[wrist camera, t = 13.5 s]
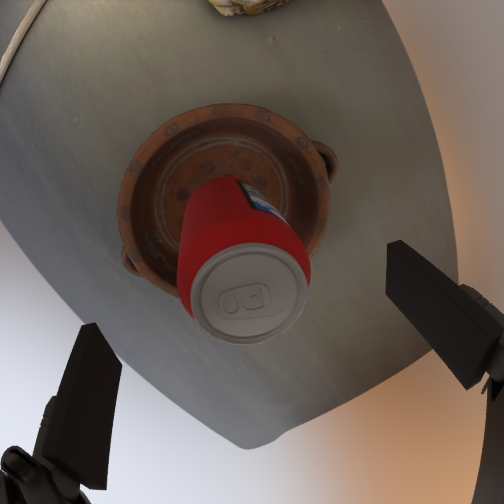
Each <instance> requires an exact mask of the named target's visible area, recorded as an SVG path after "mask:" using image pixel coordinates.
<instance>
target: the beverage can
mask: <svg viewBox="0 0 504 504" xmlns="http://www.w3.org/2000/svg"><path fill="white" fill-rule="evenodd" d="M310 274H311V271H310V261H309V257H308V254H307V251H306V249H305V247H304V246H303V244H302V242H301V241H300V240H299V238H298V237H297V236H296V234H295V233H294V232H293V230H292V229H291V227H290V226H289V225H288V223H287V222H286V221H285V220H284V218H283V217H282V216H281V214H280V213H279V212H278V211H277V209H276V208H275V207H274V206H273V204H272V203H271V202H270V201H269V200H268V198H267V197H266V196H265V195H264V194H263V193H262V191H261V190H260V189H259V188H258V187H257V186H255V185H254V184H253V183H251V182H249V181H247V180H245V179H242V178H238V177H231V176H226V177H219V178H215V179H212V180H210V181H208V182H206V183H204V184H203V185H201V186H200V187H199V188H198V189H197V190H196V191H195V192H194V193H193V194H192V196H191V197H190V199H189V201H188V203H187V205H186V209H185V213H184V219H183V225H182V232H181V239H180V248H179V257H178V268H177V289H178V294H179V297H180V299H181V302H182V304H183V306H184V307H185V309H186V310H187V312H188V313H189V314H190V315H191V316H192V318H193V319H195V320H196V322H197V323H198V325H199V326H200V327H201V329H202V330H203V331H204V332H206V333H207V334H208V335H209V336H211V337H213V338H214V339H216V340H218V341H221V342H224V343H227V344H231V345H240V346H247V345H256V344H260V343H264V342H267V341H270V340H272V339H274V338H276V337H278V336H280V335H282V334H283V333H284V332H286V331H287V330H288V329H290V328H291V327H292V326H293V325H294V324H295V322H296V321H297V320H298V319H299V317H300V316H301V314H302V312H303V310H304V308H305V305H306V302H307V297H308V287H309V283H310Z"/></svg>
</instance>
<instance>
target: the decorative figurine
mask: <svg viewBox="0 0 504 504" xmlns="http://www.w3.org/2000/svg"><path fill="white" fill-rule="evenodd" d="M208 1H209V2H210V3H211V4H213V5H214V7H215V8H216V9H217V10H218V11H219V12H220V13H221V14H222V15H224V16H229V15H231V16H234V15H235V14H236V13H237V14H239V15H241V14H244V13H246V14H248V15H254V14H258V13H262V12H265V11H268V10H271V9H273V8H276V7H278V6H281V5H283V4H285V3H287V2H288V1H289V0H208Z"/></svg>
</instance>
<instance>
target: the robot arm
mask: <svg viewBox="0 0 504 504" xmlns="http://www.w3.org/2000/svg"><path fill="white" fill-rule="evenodd" d="M385 294H386V295H387V296H388V297H389V298H390V300H391V301H392V302H393V303H394V304H395V305H396V306H397V307H398V308H399V310H400V311H401V312H402V313H403V314H404V315H405V316H406V318H407V319H408V320H409V321H410V322H411V323H412V324H413V326H414V327H415V328H416V329H417V330H418V331H419V333H420V334H421V335H422V336H423V337H424V339H425V340H426V341H427V342H428V343H429V344H430V346H431V347H432V348H433V349H434V350H435V352H436V353H437V354H438V355H439V357H440V358H441V359H442V360H443V361H444V363H445V364H446V365H447V366H448V368H449V369H450V370H451V371H452V372H453V374H454V375H455V377H456V378H457V379H458V380H459V382H460V383H461V384H462V385H463V387H464V388H465V389H466V390H468V389H470V388H471V387H473V386H474V385H475V384H477V383H478V382H480V381H481V379H482V377H483V375H484V373H485V371H486V372H487V373H488V374H489V375H490V376H489V378H488V380H487V382H486V384H485V385H484V387H483V389H482V392H481V394H484V392H485V391H486V389H488V390H487V410H486V423H485V432H484V441H483V448H482V455H481V461H480V467H479V472H478V477H477V482H476V487H475V491H474V495H473V500H472V503H471V504H504V314H502V313H501V312H500V311H499V310H498V309H497V308H496V307H495V306H494V305H492V304H491V303H489V301H488V300H487V299H485V298H483V296H482V295H481V294H480V293H479V292H477V291H476V290H475V289H474V288H471V287H469V286H467V285H465V284H462V285H459V286H458V285H457V284H456V283H455V282H453V281H452V280H451V279H450V278H449V277H447V276H446V275H445V274H444V273H443V272H441V271H440V270H439V269H438V268H436V267H435V266H434V265H433V264H431V263H430V262H429V261H428V260H426V259H425V258H424V257H423V256H421V255H420V254H419V253H418V252H416V251H415V250H414V249H412V248H411V247H410V246H408V245H407V244H406V243H404V242H403V241H402V240H398V241H395V242H392V243H389V244H387V271H386V292H385ZM121 370H122V364H121V362H120V361H119V360H118V358H117V356H116V355H115V353H114V352H113V350H112V349H111V347H110V345H109V344H108V342H107V341H106V339H105V337H104V336H103V334H102V333H101V331H100V329H99V328H98V326H97V324H96V323H90V324H86V325H82V326H81V329H80V331H79V334H78V336H77V339H76V341H75V344H74V346H73V349H72V352H71V354H70V357H69V360H68V363H67V365H66V369H65V371H64V374H63V377H62V380H61V383H60V386H59V389H58V392H57V396H52V398H51V399H50V401H49V402H48V404H47V405H46V408H45V411H44V414H43V419H42V421H41V424H40V425H41V427H40V428H39V432H38V435H37V439H36V443H35V447H34V451H33V455H32V456H31V455H29V454H28V453H27V452H25V451H24V450H23V449H22V448H20V447H19V446H11V447H9V448H8V449H7V450H6V451H5V452H4V454H3V456H2V458H1V470H0V504H91V503H90V501H89V500H88V498H87V497H86V495H85V494H84V493H83V492H82V491H81V490H80V483H81V484H82V485H84V486H85V487H87V488H89V489H93V490H107V475H108V464H109V452H110V444H111V435H112V427H113V420H114V413H115V406H116V399H117V394H118V388H119V382H120V376H121ZM487 387H488V388H487ZM2 470H3V471H4V472H3V471H2ZM5 472H6V473H7V474H6V473H5Z"/></svg>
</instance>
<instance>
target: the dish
mask: <svg viewBox="0 0 504 504" xmlns="http://www.w3.org/2000/svg"><path fill="white" fill-rule="evenodd" d="M319 153H320V154H321V155H322V156H323V158H324V159H325V162H326V166H325V163H324V160H323V158H322V157H321V156H320V154H319ZM337 171H338V161H337V157H336V155H335V154H334V152H333V150H331V149H330V148H329V147H327V146H326V145H324V144H322V143H319V142H316V141H310V140H309V139H308V137H307V136H306V135H305V134H304V133H303V132H302V131H301V130H300V129H299V128H298V127H297V126H296V125H294V124H293V123H292V122H290V121H288V120H287V119H285V118H283V117H282V116H280V115H278V114H275V113H273V112H271V111H269V110H267V109H264V108H261V107H257V106H253V105H248V104H214V105H209V106H206V107H202V108H198V109H194V110H191V111H188V112H186V113H183V114H181V115H178V116H177V117H175V118H173V119H171V120H170V121H168V122H167V123H165V124H164V125H162V126H161V127H160V128H158V129H157V130H156V131H155V132H154V133H153V134H152V135H151V136H150V137H149V138H148V139H147V141H146V142H145V143H144V144H143V145H142V146H141V147H140V148H139V150H138V151H137V153H136V154H135V156H134V157H133V159H132V161H131V162H130V164H129V166H128V168H127V170H126V172H125V175H124V179H123V181H122V185H121V189H120V193H119V199H118V211H117V212H118V224H119V231H120V235H121V239H122V242H123V247H122V253H121V257H122V263H123V265H124V267H125V268H126V269H127V270H128V271H129V272H130V273H132V274H134V275H136V276H139V277H143V278H146V279H147V280H148V281H150V282H151V283H152V284H154V285H155V286H157V287H158V288H160V289H161V290H163V291H165V292H167V293H168V294H170V295H173V296H175V297H177V298H179V299H180V297H179V294H178V289H177V268H178V257H179V248H180V239H181V232H182V225H183V219H184V213H185V209H186V205H187V203H188V201H189V199H190V197H191V196H192V194H193V193H194V192H195V191H196V190H197V189H198V188H199V187H200V186H201V185H203V184H204V183H206V182H208V181H210V180H212V179H215V178H219V177H226V176H231V177H238V178H242V179H245V180H247V181H249V182H251V183H253V184H254V185H255V186H257V187H258V188H259V189H260V190H261V191H262V193H263V194H264V195H265V196H266V197H267V198H268V200H269V201H270V202H271V203H272V204H273V206H274V207H275V208H276V209H277V211H278V212H279V213H280V214H281V216H282V217H283V218H284V220H285V221H286V222H287V223H288V225H289V226H290V227H291V229H292V230H293V232H294V233H295V234H296V236H297V237H298V238H299V240H300V241H301V242H302V244H303V246H304V247H305V249H306V251H307V254H308V257H309V259H310V258H311V256H312V255H313V253H314V252H315V250H316V249H317V247H318V245H319V243H320V242H321V240H322V238H323V235H324V232H325V230H326V227H327V224H328V220H329V213H330V189H329V185H330V184H331V182H332V181H333V179H334V177H335V175H336V173H337Z"/></svg>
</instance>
